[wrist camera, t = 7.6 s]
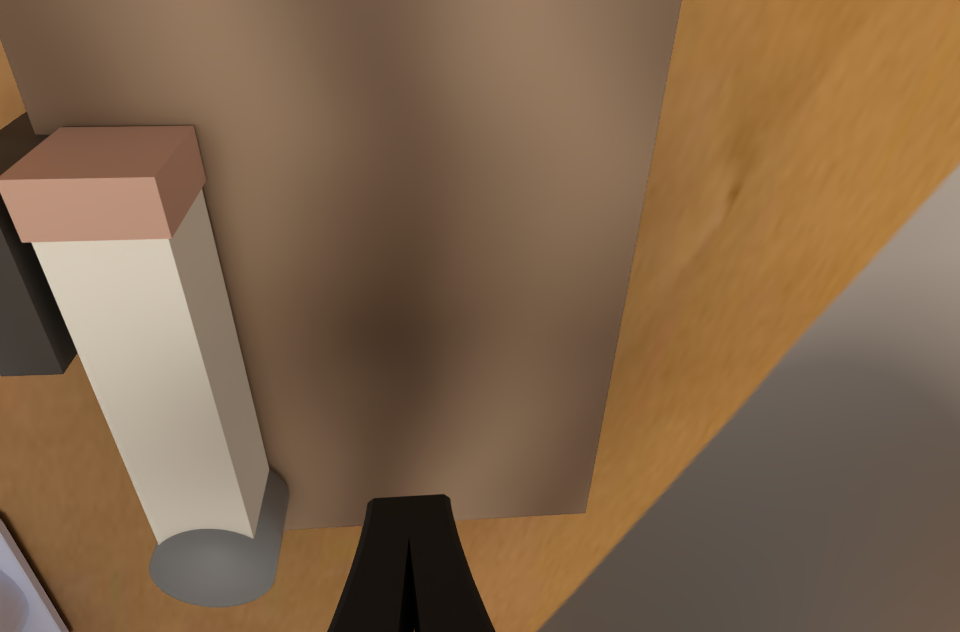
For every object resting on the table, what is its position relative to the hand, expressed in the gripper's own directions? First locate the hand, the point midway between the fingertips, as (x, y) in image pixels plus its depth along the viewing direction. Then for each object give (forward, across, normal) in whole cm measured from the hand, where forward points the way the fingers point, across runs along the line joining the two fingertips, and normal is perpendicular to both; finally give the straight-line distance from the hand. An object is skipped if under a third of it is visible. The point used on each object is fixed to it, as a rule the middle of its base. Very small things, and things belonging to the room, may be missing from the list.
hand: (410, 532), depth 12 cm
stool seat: (+8, +1, 0) cm, 8 cm away
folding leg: (+6, +5, +1) cm, 8 cm away
